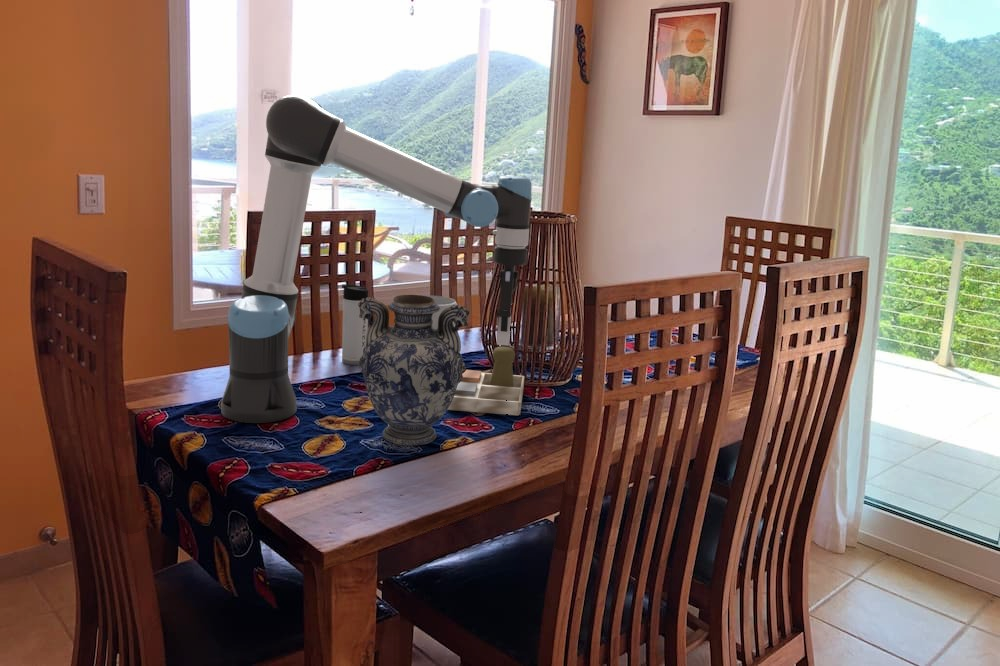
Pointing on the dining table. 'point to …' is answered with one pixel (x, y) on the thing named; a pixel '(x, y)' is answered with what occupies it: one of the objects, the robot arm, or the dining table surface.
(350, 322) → the travel mug
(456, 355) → the decorative vase
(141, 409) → the dining table surface
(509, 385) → the cork
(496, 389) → the socket board
